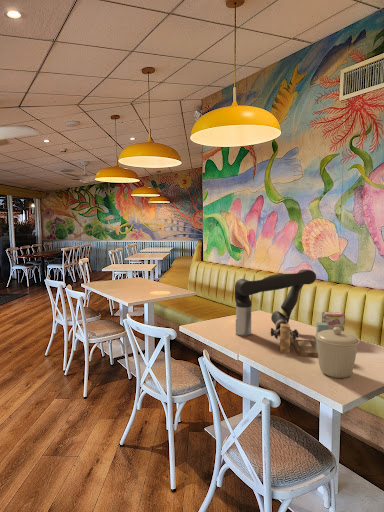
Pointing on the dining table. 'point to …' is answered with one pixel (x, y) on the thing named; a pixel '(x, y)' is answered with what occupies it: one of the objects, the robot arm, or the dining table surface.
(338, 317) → the candy bar box
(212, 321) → the dining table surface
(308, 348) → the frame base
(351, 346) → the canister
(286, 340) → the oak post
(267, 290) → the robot arm
